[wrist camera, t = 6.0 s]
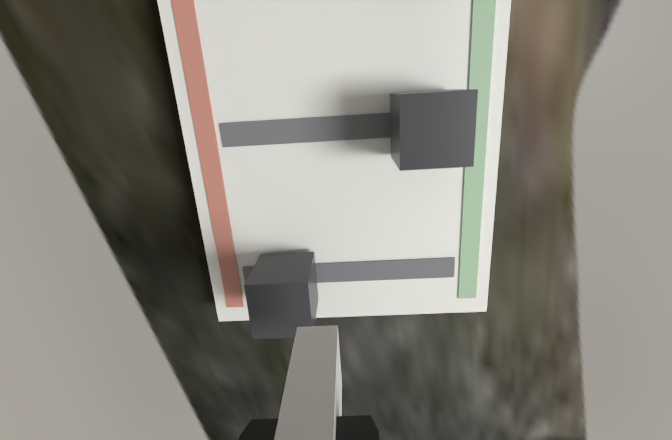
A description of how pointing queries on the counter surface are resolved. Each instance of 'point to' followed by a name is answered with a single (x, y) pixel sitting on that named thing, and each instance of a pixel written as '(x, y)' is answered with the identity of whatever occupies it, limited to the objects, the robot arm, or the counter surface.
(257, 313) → the switch
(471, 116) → the block
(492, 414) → the counter surface
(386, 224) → the breaker panel
